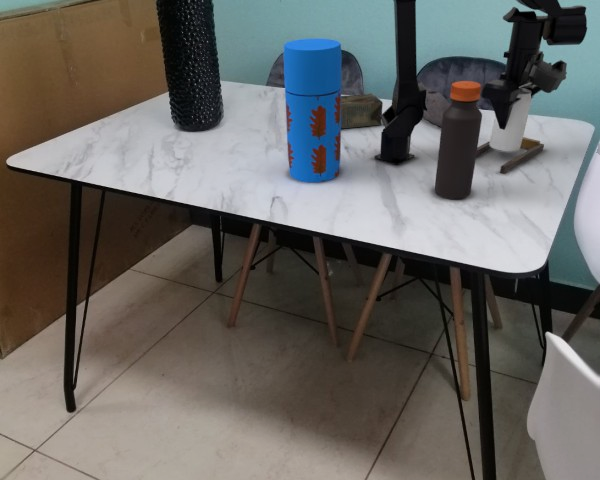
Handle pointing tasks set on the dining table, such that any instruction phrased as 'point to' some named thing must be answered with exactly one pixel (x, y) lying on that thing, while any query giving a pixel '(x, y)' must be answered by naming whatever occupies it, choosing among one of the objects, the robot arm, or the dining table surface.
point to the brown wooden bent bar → (526, 143)
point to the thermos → (313, 108)
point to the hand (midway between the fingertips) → (510, 125)
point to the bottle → (459, 141)
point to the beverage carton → (360, 110)
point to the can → (512, 125)
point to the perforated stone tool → (435, 107)
